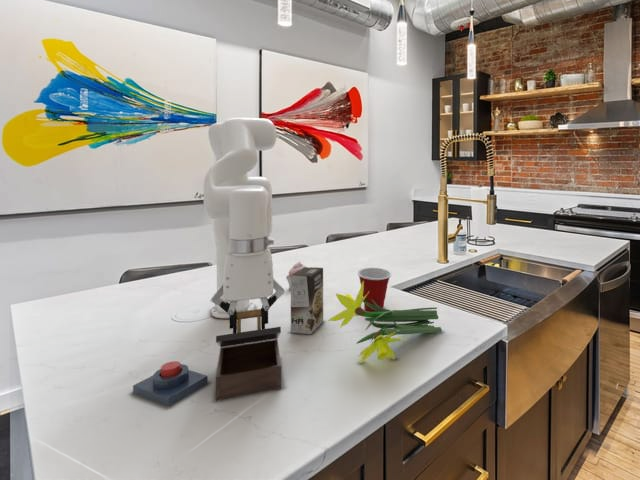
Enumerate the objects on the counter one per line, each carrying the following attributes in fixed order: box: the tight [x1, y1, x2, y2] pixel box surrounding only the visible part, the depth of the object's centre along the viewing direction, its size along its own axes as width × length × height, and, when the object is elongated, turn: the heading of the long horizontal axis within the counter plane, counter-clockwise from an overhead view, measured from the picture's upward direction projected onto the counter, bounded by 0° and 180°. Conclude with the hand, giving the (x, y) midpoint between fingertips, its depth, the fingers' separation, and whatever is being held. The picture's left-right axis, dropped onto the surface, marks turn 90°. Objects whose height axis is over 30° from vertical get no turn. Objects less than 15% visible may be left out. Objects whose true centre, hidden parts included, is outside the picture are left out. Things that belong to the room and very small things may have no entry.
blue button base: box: [132, 363, 209, 407], centre depth 85 cm, size 11×9×4 cm
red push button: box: [160, 360, 182, 378], centre depth 85 cm, size 4×4×2 cm
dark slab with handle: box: [215, 308, 282, 348], centre depth 91 cm, size 14×13×6 cm
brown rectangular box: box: [215, 338, 282, 402], centre depth 89 cm, size 14×13×5 cm
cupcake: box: [285, 261, 307, 291], centre depth 150 cm, size 9×9×10 cm
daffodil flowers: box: [327, 281, 442, 364], centre depth 102 cm, size 17×15×35 cm
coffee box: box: [290, 266, 324, 335], centre depth 116 cm, size 9×6×16 cm
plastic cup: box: [357, 267, 392, 312], centre depth 130 cm, size 11×11×12 cm
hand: (249, 328), depth 88 cm, fingers closed on dark slab with handle, 5 cm apart
